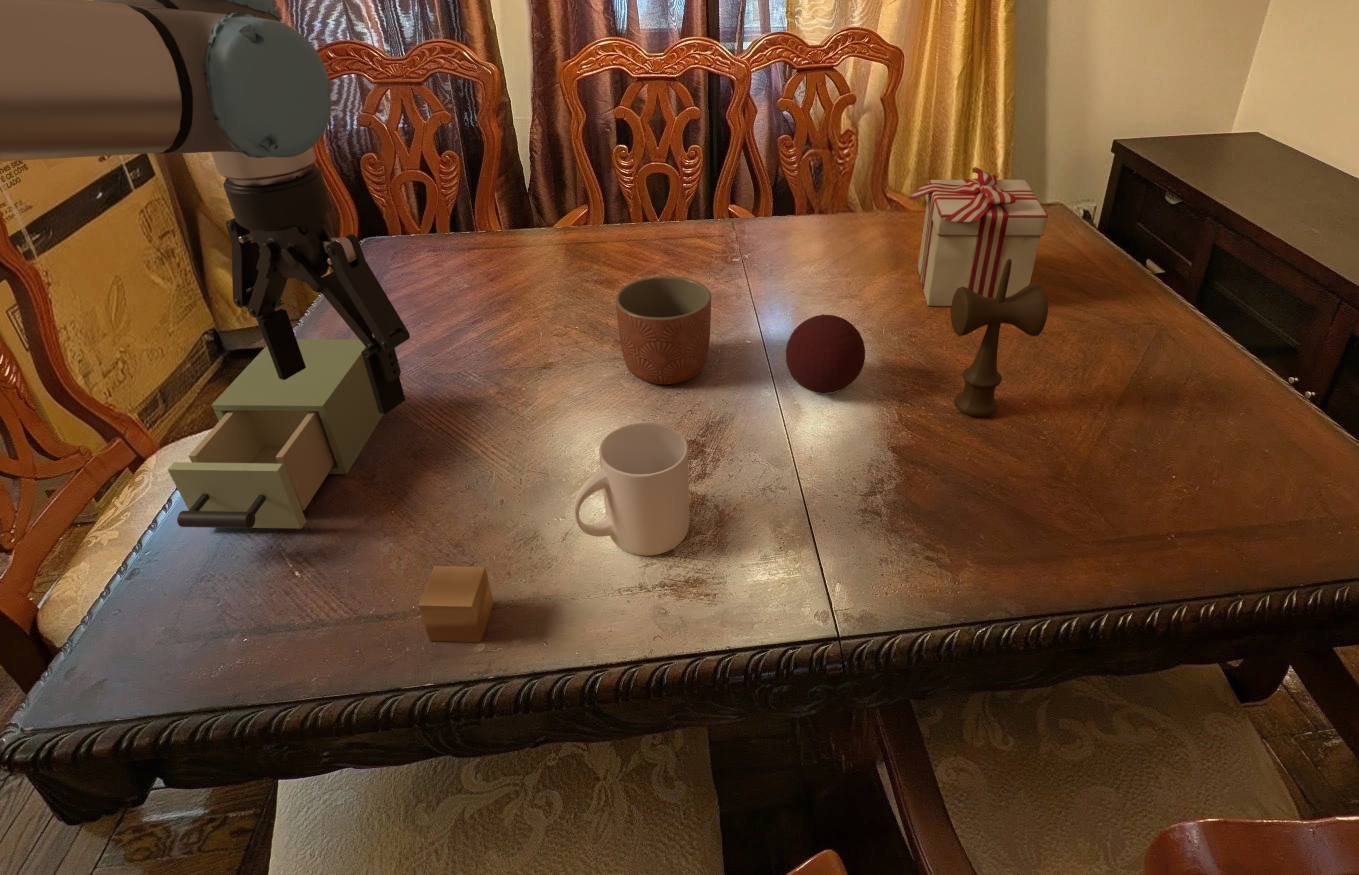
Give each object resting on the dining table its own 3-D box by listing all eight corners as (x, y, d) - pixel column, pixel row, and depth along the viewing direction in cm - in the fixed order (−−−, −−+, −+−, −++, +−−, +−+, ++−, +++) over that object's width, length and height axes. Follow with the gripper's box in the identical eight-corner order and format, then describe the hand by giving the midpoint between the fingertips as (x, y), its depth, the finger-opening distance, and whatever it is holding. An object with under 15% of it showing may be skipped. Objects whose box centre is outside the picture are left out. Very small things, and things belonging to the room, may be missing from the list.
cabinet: (347, 474, 93) (323, 405, 87) (241, 472, 93) (211, 404, 88) (390, 403, 104) (371, 339, 99) (296, 403, 105) (272, 338, 99)
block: (481, 642, 72) (471, 606, 69) (429, 641, 73) (417, 605, 70) (494, 602, 76) (485, 566, 73) (444, 601, 76) (434, 565, 74)
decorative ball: (858, 413, 100) (867, 343, 94) (778, 403, 102) (782, 334, 96) (863, 371, 108) (871, 304, 102) (789, 363, 110) (793, 297, 104)
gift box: (891, 267, 134) (905, 163, 124) (1003, 266, 133) (1027, 162, 123) (910, 315, 120) (928, 203, 110) (1035, 314, 119) (1065, 201, 109)
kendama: (1021, 421, 98) (1064, 269, 86) (942, 423, 98) (973, 271, 86) (1005, 394, 102) (1043, 246, 91) (929, 396, 103) (958, 248, 91)
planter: (702, 397, 104) (702, 322, 97) (610, 389, 106) (603, 315, 99) (718, 349, 113) (718, 278, 107) (633, 342, 116) (628, 272, 109)
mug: (565, 528, 84) (553, 446, 78) (668, 493, 88) (664, 413, 82) (595, 581, 78) (584, 498, 72) (704, 541, 82) (703, 459, 76)
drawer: (283, 558, 80) (256, 499, 76) (174, 555, 81) (141, 497, 76) (350, 450, 95) (332, 395, 90) (257, 449, 95) (234, 395, 91)
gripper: (417, 177, 63) (465, 401, 76) (212, 140, 73) (284, 344, 86) (344, 208, 58) (409, 443, 71) (133, 164, 68) (223, 377, 80)
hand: (341, 389), depth 78 cm, fingers open, 13 cm apart
